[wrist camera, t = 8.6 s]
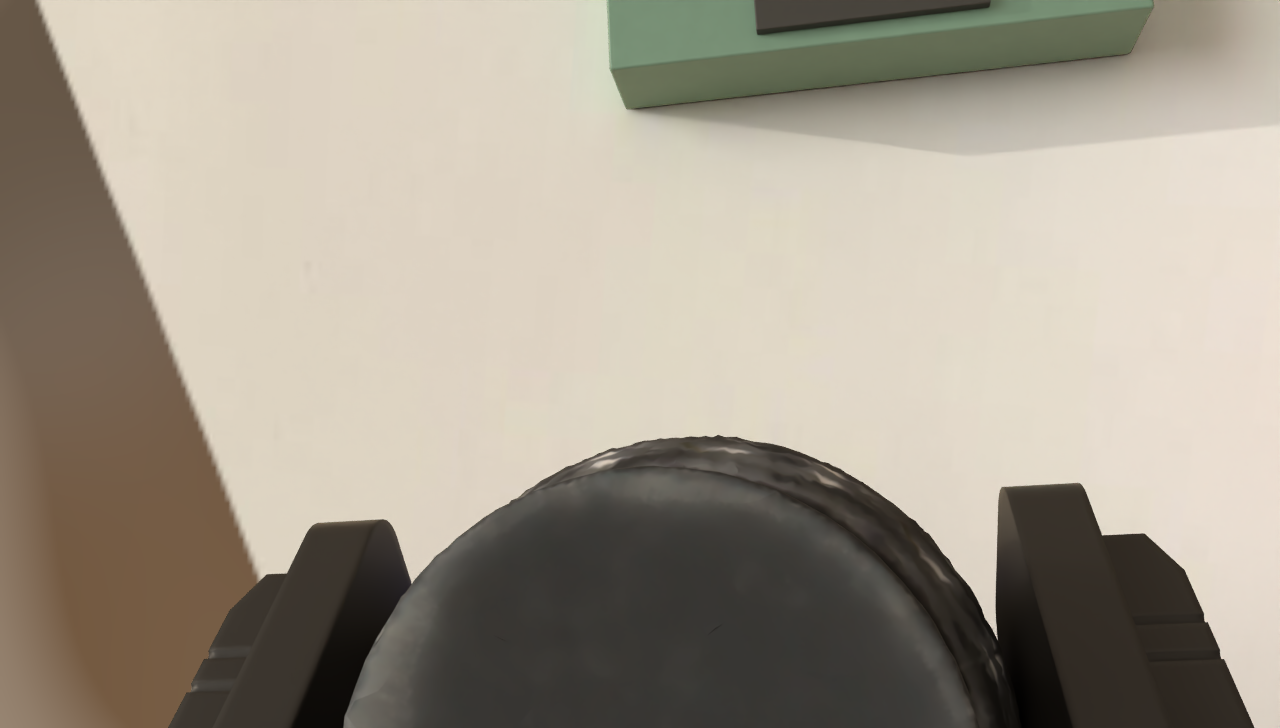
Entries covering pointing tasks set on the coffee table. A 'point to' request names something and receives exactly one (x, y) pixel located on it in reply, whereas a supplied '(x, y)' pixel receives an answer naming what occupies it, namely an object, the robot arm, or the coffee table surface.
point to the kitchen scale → (845, 41)
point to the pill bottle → (689, 607)
